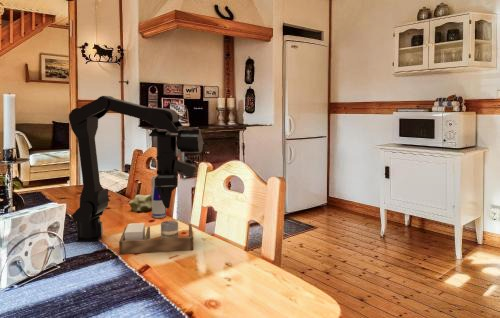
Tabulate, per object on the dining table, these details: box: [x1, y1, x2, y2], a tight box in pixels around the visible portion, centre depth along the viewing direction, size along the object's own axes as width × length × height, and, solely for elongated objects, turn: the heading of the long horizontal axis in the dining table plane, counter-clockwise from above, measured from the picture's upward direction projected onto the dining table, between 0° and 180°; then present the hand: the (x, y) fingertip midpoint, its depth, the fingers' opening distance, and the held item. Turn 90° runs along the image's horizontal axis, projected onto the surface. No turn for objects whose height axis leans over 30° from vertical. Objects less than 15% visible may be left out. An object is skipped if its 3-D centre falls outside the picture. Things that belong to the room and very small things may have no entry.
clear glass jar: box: [160, 220, 179, 239], centre depth 120 cm, size 5×5×6 cm
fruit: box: [128, 193, 152, 213], centre depth 159 cm, size 9×9×8 cm
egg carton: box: [125, 222, 146, 241], centre depth 118 cm, size 5×9×6 cm, turn 10°
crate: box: [118, 223, 194, 255], centre depth 119 cm, size 20×14×4 cm
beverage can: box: [150, 175, 167, 219], centre depth 149 cm, size 5×5×15 cm
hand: (167, 204), depth 120 cm, fingers open, 9 cm apart
